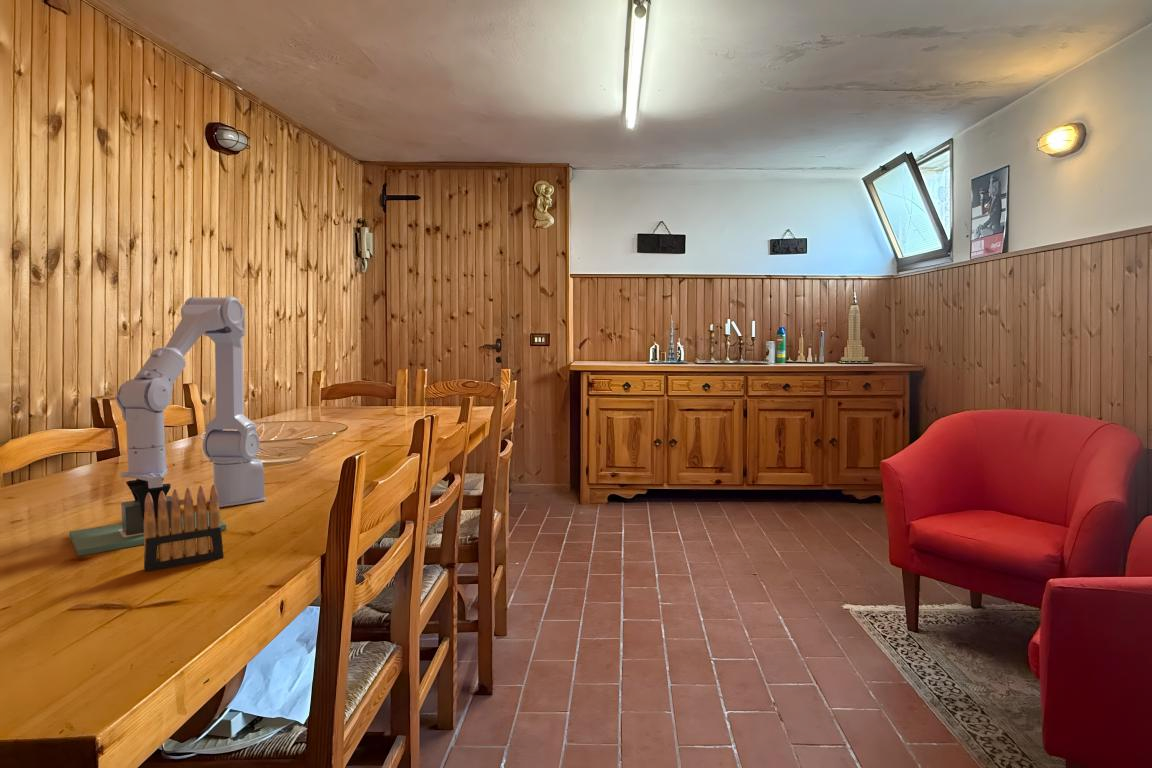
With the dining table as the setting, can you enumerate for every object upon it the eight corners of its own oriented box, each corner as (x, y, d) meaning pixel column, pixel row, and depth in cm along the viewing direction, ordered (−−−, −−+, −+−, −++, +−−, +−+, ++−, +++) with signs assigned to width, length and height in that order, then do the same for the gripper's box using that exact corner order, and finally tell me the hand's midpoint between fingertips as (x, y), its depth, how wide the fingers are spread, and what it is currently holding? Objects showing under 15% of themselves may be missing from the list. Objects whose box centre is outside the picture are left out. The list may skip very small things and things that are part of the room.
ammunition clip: (145, 572, 101) (141, 494, 100) (144, 568, 103) (140, 492, 102) (223, 558, 108) (221, 484, 107) (221, 555, 109) (218, 482, 108)
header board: (207, 514, 133) (206, 497, 133) (226, 529, 123) (225, 511, 123) (69, 536, 119) (68, 517, 119) (78, 556, 108) (77, 534, 108)
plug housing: (190, 519, 126) (189, 493, 126) (196, 523, 123) (195, 497, 123) (122, 530, 119) (121, 502, 119) (126, 535, 116) (125, 507, 116)
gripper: (113, 443, 122) (116, 516, 123) (126, 454, 111) (130, 534, 112) (158, 439, 126) (161, 510, 127) (174, 449, 116) (178, 526, 117)
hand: (149, 520), depth 120 cm, fingers closed on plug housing, 4 cm apart
